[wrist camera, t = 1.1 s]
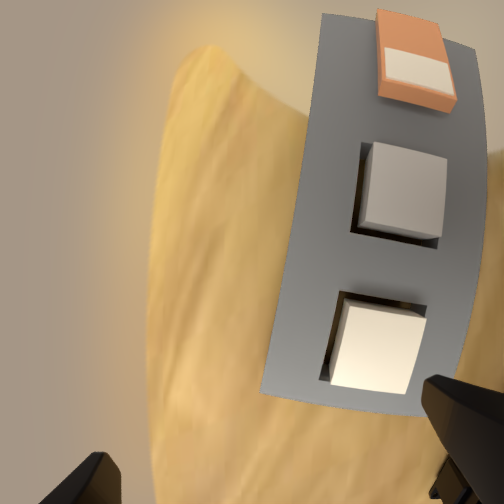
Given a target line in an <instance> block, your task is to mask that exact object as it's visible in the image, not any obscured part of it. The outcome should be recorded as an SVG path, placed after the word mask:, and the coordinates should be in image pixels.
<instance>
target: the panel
mask: <svg viewBox="0 0 504 504" xmlns="http://www.w3.org/2000/svg"><path fill="white" fill-rule="evenodd" d="M442 39H443V42H444V46H445V50H446V53H447V57H448V61H449V65H450V69H451V73H452V77H453V82H454V87H455V91H456V96H457V102H456V103H455V105H454V107H453V109H452V111H451V112H450V114H448V113H445V112H442V111H438V110H435V109H431V108H428V107H424V106H420V105H416V104H412V103H408V102H404V101H400V100H396V99H391V98H387V97H382V96H378V63H377V41H376V25H375V21H373V20H367V19H361V18H355V17H349V16H342V15H334V14H325V13H322V20H321V29H320V37H319V46H318V54H317V62H316V70H315V78H314V86H313V93H312V100H311V107H310V114H309V121H308V128H307V135H306V142H305V148H304V155H303V161H302V168H301V174H300V180H299V187H298V193H297V199H296V205H295V211H294V217H293V223H292V228H291V234H290V240H289V246H288V251H287V257H286V262H285V268H284V273H283V278H282V284H281V289H280V294H279V300H278V305H277V310H276V315H275V320H274V325H273V330H272V335H271V340H270V345H269V350H268V355H267V359H266V364H265V369H264V374H263V378H262V383H261V388H260V392H259V393H262V394H267V395H271V396H276V397H281V398H285V399H290V400H295V401H301V402H306V403H311V404H317V405H323V406H329V407H335V408H342V409H349V410H357V411H364V412H373V413H382V414H392V415H404V416H418V417H428V416H427V415H426V413H425V411H424V409H423V407H422V404H421V395H422V388H423V382H424V380H425V379H426V378H428V377H430V376H432V375H435V374H439V375H442V376H446V377H449V378H452V379H453V378H454V375H455V372H456V369H457V366H458V362H459V359H460V356H461V352H462V349H463V345H464V342H465V338H466V334H467V330H468V326H469V322H470V318H471V313H472V309H473V304H474V299H475V294H476V289H477V283H478V277H479V271H480V264H481V257H482V249H483V240H484V230H485V218H486V202H487V141H486V125H485V113H484V104H483V95H482V88H481V81H480V74H479V69H478V63H477V58H476V53H475V49H472V48H470V47H467V46H464V45H462V44H459V43H456V42H453V41H450V40H447V39H444V38H442ZM374 142H379V143H384V144H388V145H393V146H397V147H402V148H406V149H410V150H415V151H419V152H423V153H427V154H430V155H434V156H438V157H442V158H445V159H447V178H446V195H445V208H444V219H443V228H442V236H441V237H437V238H432V239H426V240H422V243H421V246H417V245H412V244H407V243H402V242H397V241H392V240H387V239H382V238H377V237H372V236H366V235H361V234H356V233H350V227H351V221H352V214H353V207H354V200H355V192H356V184H357V176H358V168H359V159H362V160H366V158H367V156H368V154H369V151H370V149H371V147H372V145H373V143H374ZM339 290H340V291H346V292H352V293H357V294H363V295H368V296H374V297H380V298H386V299H391V300H397V301H403V302H409V303H411V305H410V310H412V311H414V312H415V313H417V314H419V315H421V316H423V317H424V318H426V319H427V320H426V324H425V328H424V332H423V336H422V340H421V344H420V347H419V351H418V355H417V358H416V361H415V365H414V368H413V371H412V375H411V378H410V381H409V384H408V387H407V390H406V393H405V394H397V393H388V392H379V391H371V390H364V389H357V388H350V387H343V386H337V385H331V383H330V372H329V365H328V364H323V361H324V357H325V352H326V348H327V344H328V340H329V336H330V331H331V327H332V323H333V318H334V313H335V309H336V304H337V299H338V294H339Z"/></svg>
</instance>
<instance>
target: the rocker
mask: <svg viewBox="0 0 504 504" xmlns="http://www.w3.org/2000/svg"><path fill="white" fill-rule="evenodd" d="M375 25H376V41H377V63H378V96H382V97H387V98H391V99H396V100H400V101H404V102H408V103H412V104H416V105H420V106H424V107H428V108H431V109H435V110H438V111H442V112H445V113H448V114H450V112H451V111H452V109H453V107H454V105H455V103H456V102H457V96H456V91H455V87H454V82H453V77H452V73H451V69H450V65H449V61H448V57H447V53H446V50H445V46H444V42H443V39H442V36H441V33H440V29H439V26H438V24H437V23H434V22H430V21H427V20H423V19H420V18H416V17H412V16H408V15H404V14H400V13H396V12H391V11H387V10H382V9H377V13H376V21H375Z"/></svg>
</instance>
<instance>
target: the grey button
mask: <svg viewBox="0 0 504 504" xmlns="http://www.w3.org/2000/svg"><path fill="white" fill-rule="evenodd" d="M446 178H447V159H445V158H442V157H438V156H434V155H430V154H427V153H423V152H419V151H415V150H410V149H406V148H402V147H397V146H393V145H388V144H384V143H379V142H374V143H373V145H372V147H371V149H370V151H369V154H368V156H367V158H366V162H365V171H364V180H363V188H362V196H361V204H360V211H359V218H358V225H357V227H359V228H364V229H370V230H375V231H380V232H385V233H390V234H395V235H400V236H405V237H410V238H415V239H419V240H426V239H432V238H437V237H441V236H442V228H443V219H444V208H445V195H446Z"/></svg>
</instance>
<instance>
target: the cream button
mask: <svg viewBox="0 0 504 504" xmlns="http://www.w3.org/2000/svg"><path fill="white" fill-rule="evenodd" d="M426 320H427V319H426V318H424V317H423V316H421V315H419V314H417V313H415V312H414V311H412V310H410V309H404V308H398V307H392V306H386V305H381V304H375V303H369V302H363V301H358V300H352V299H346V298H344V302H343V307H342V312H341V316H340V321H339V325H338V330H337V334H336V338H335V342H334V347H333V351H332V355H331V359H330V363H329V372H330V383H331V385H337V386H343V387H350V388H357V389H364V390H371V391H379V392H388V393H397V394H405V393H406V390H407V387H408V384H409V381H410V378H411V375H412V371H413V368H414V365H415V361H416V358H417V355H418V351H419V347H420V344H421V340H422V336H423V332H424V328H425V324H426Z"/></svg>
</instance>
